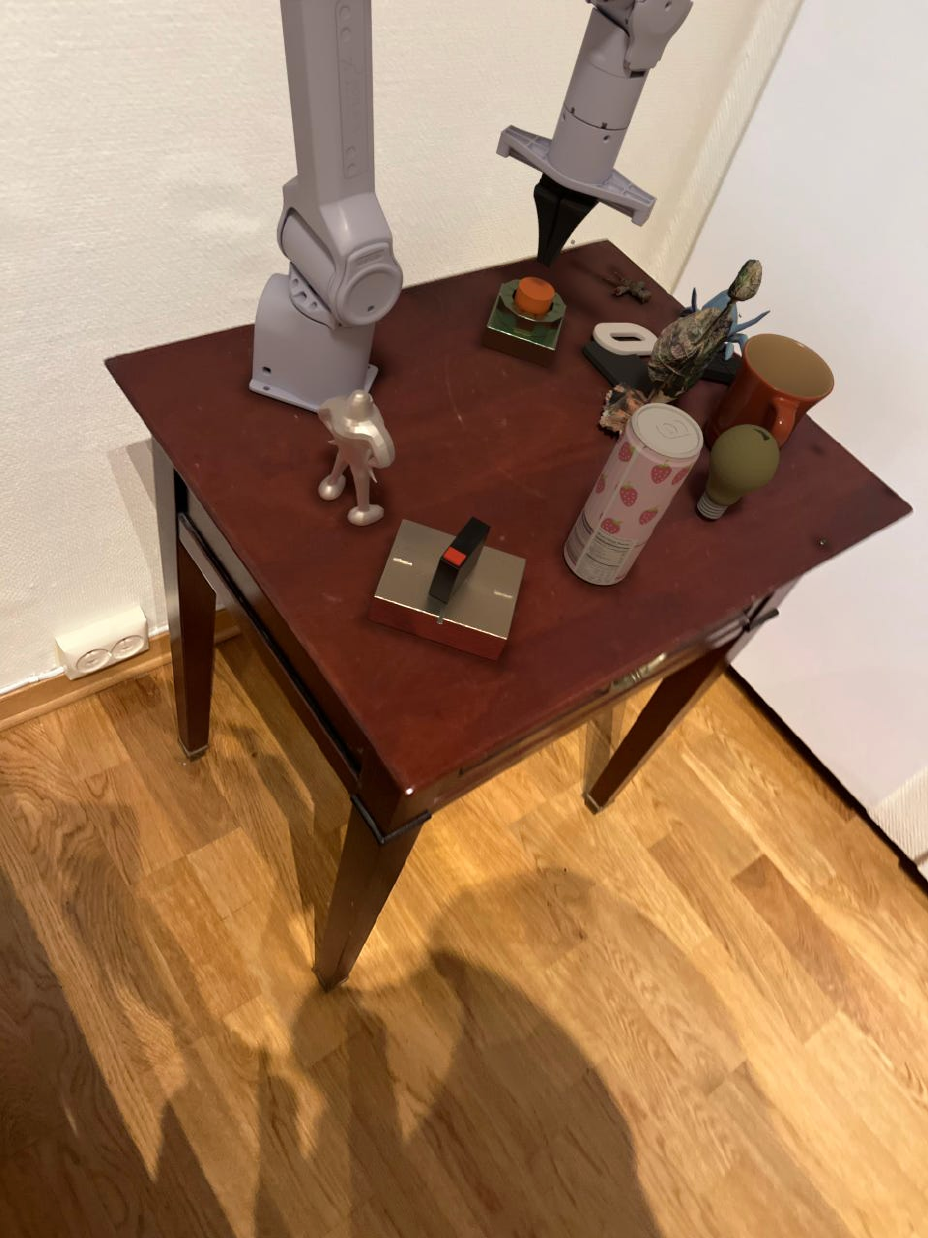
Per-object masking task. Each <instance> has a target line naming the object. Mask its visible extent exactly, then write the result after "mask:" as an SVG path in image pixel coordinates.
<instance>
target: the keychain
mask: <svg viewBox="0 0 928 1238" xmlns="http://www.w3.org/2000/svg"><path fill="white" fill-rule="evenodd" d="M612 338H613V339H614V340H617V341H620V339H619V337H612ZM622 341H625V340H624V339H623V340H622ZM581 351H582V353H583V354H584V356H585V357H586V358H587V359H588V360H589V361H590V362H591V363H592V364H593V365H594V366H595V367H596V368H597V369H598V371H599V372H600V373H601V374H602V375H603V376H604V377H605V378H606V379H607V380H608V382H610V383H611V384H612V386H613V387H616V386H617V385H618V384H620V382H622V384H623V383H625V384H627V385H629V386H630V387H632V388H634V389H636V390H639V391H641V392H643V394H644V396H645V397H646V399H648V398H649V395H650V392H652V391H653V389H654V388H655V385H654V383H653V382H652V381H651V379H650V378H649V372H648V363H646V362H645V361H644V360H643V359H642V358H641V357H640V355H637V354H630V355H618V354H615V353H612V352H610V351H608V350H606V349H605V348H603V347H602V346H600V345H599V344H598V343H597V342H596V340H595V339H594V340H592V341H588V342H585V343H584V345H583V347H582V349H581ZM674 402H675V400H672V401H670V402H667V403H665V404H668V405H673V404H674Z"/></svg>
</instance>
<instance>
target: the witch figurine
mask: <svg viewBox="0 0 928 1238" xmlns="http://www.w3.org/2000/svg"><path fill="white" fill-rule="evenodd" d="M570 244H571V245H575V244H576V240H575V239H571V240H570ZM575 265H576V264H575ZM576 266H577V265H576ZM613 270H614V271H613V273H614V274H615V275H616V276H617V277H618V278H619V279H620V282H619V283H618V282H617V281H614V280H612V279H610V278H607V277H604V276H602V275H601V274H598V276H600V277H601V278H602V279H603V280H604V281H606V282H607V283H610V284H612V285H614V286H616V287H614V288H613V291H612V294H615V295H616V296H620V295H622V294H624V293H631V296H632V297H633V296H637V297H638V298H639V299H641V302H642V303H644V302H645V301H647V302H649V301H650V300H651V299H652V292H651V291H649V290H647V289H644V288H645V287H646V283H647V280H640V281H637V282H635V281H634V280H633V277H632V276H631V275H628V276H627V277H623V276H622V275H621V273H619V272H617V270H615V269H613ZM587 271H589V272H590V273H592V271H591V270H588V269H587ZM642 289H644V290H642Z"/></svg>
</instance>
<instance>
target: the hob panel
mask: <svg viewBox="0 0 928 1238" xmlns="http://www.w3.org/2000/svg"><path fill="white" fill-rule="evenodd" d="M399 525H400V526H399V528H398V530H397V534H396V536H395V539H394V541H393V544H392V547H391V549H390V552H389V554H388V557H387V560H386V563H385V566H384V568H383V571H382V573H381V576H380V579H379V582H378V584H377V586H376V590H375V592H374V595H373V597H372V598H373V599H372V602H371V606H370V609H369V610H370V611H369V615H368V621H371V622H374V623H378V624H380V625H384V626H386V627H390V628H392V629H396V630H399V631H402V632H405V633H408V634H411V635H415V636H417V637H420V638H423V639H425V640H430V641H432V642H436V643H439V644H442V645H445V646H449V647H451V648H454V649H458V650H459V651H460V650H461V651H462V652H466V653H469V654H473V655H476V656H479V657H482V658H485V659H488V660H491V661H494V662H497V661H498V659H499V658H500V656H501V654H502V651H503V649H504V647H505V645H506V644H507V641H508V638H509V634H510V630H511V625H512V622H513V617H514V615H515V614H514V613H515V609H516V605H517V601H518V596H519V593H520V589H521V584H522V580H523V577H524V573H525V572H524V571H525V568H526V563H527V559H526V558H523V557H520V556H517V555H515V554H511V553H508V552H505V551H502V550H499V549H497V548H493V547H490V546H487V545H484V547H483V549H482V552H481V554H480V557H479V559H478V561H477V563H476V564H475V566H474V567H473V568H472V570H471V571H470V573H469V574H468V575H467V577H466V578H465V579H464V581H463V582H462V584H461V585H460V586H459V588H458V589H457V590H456V592H455V593H454V595H453V596H452V597H451V599H450V600H449V601H448V603H446V602H444V601H442V600H441V599H439V598H437V597H435V596H434V595H432V594H430V593H429V589H430V586H431V583H432V580H433V577H434V574H435V571H436V568H437V565H438V562H439V559H440V557H441V556H442V555H443V553H444V552H445V551H446V550H447V548H448V547H449V546H450V544H451V543H452V542H453V540H454V539H455V538H456V537H457V535H454V534H451V533H448V532H445V531H442V530H439V529H436V528H433V527H430V526H427V525H424V524H422V523H419V522H414V521H411V520H409V519H406V518H403V519H402V520H401V523H400V524H399Z"/></svg>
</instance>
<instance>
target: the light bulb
mask: <svg viewBox="0 0 928 1238" xmlns="http://www.w3.org/2000/svg"><path fill="white" fill-rule="evenodd" d="M710 450H711V449H710ZM779 464H780V452H779V448H778V445H777V442H776V440H775V439H774V438H773V436H772V435H771V434H770V433H769V432H768V431H766V430H765V429H763V428H761V427H759V426H756V425H750V424H745V425H738V426H735V427H733V428H730V429H728V430H727V431H725V432H724V433H723V434H722V435H721V436H720V437H719V438H718V439H717V440H716V442H715V444H714V446H713V447H712V450H711V451H710V454H709V461H708V471H709V472H708V478H707V481H706V484H705V489H704V492H703V493H702V495H701V496H700V499H699V500H698V501H697V504H696V506H697V509H698V511H699V513H700V514H701V515H702V516H703V517H704V518H707V519H711V520H717V519H720V518H721V517H722V516H723V514H724V513H725V511H726V510H727V509H728V507H729V506H731V505H733V504H735V503H736V502H738V501H739V500H740V499H741V498H743V497H744V496H745V495H748V494H751V493H753V492H755V491H757V490H759V489H761V488H763V487H764V486H765V485H766V484H767V483H769V482H770V480H771V479H772V478H773V477H774V476H775V474H776V472H777V469H778V467H779Z"/></svg>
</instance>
